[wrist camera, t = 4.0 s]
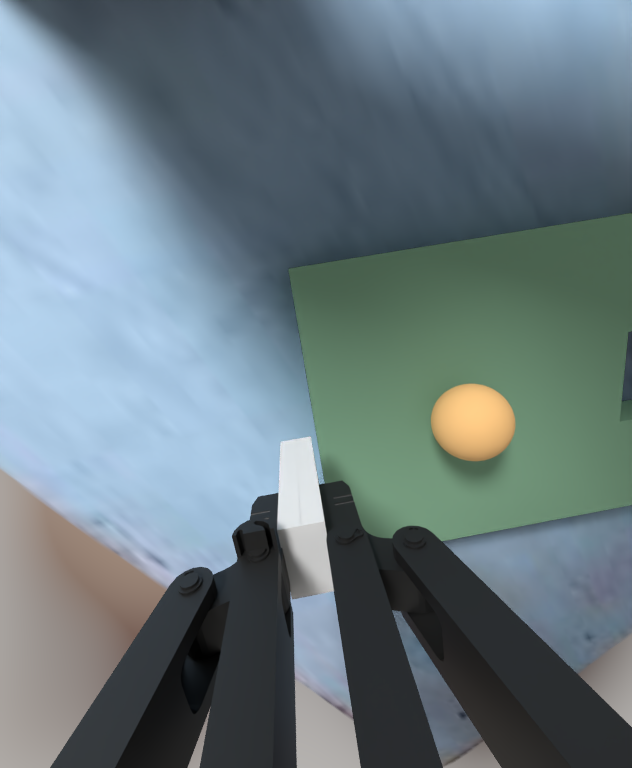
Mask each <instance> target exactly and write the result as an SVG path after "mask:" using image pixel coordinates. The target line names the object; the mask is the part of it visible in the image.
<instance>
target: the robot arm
mask: <svg viewBox="0 0 632 768" xmlns="http://www.w3.org/2000/svg"><path fill="white" fill-rule="evenodd" d="M232 538H233V542H234V546H235V550H236V554H237V557H238V559H237V562H236V563H235V564H233V565H232V566H231V567H229V568H227V569H225V570H223V571H221V572H218V573H216V574H214V575H213V574H212V571H210V570H209V569H208V568H204V567H197V568H192V569H190V570H188V571H185V572H184V573H182V574H181V575H179V576H178V577H177V578H176V579H175V580H174V581H173V582H172V583H171V584H170V586H169V588H168V589H167V591H166V592H165V594H164V595H163V597H162V598H161V600H160V601H159V603H158V604H157V606H156V607H155V609H154V610H153V612H152V613H151V615H150V617H149V618H148V620H147V621H146V623H145V624H144V626H143V627H142V629H141V630H140V632H139V633H138V635H137V636H136V638H135V639H134V641H133V642H132V644H131V646H130V647H129V648H128V650H127V652H126V653H125V655H124V656H123V658H122V659H121V661H120V662H119V664H118V665H117V667H116V668H115V670H114V671H113V673H112V674H111V676H110V678H109V679H108V680H107V682H106V684H105V685H104V687H103V688H102V690H101V691H100V693H99V694H98V696H97V697H96V699H95V700H94V702H93V703H92V705H91V707H90V708H89V709H88V711H87V712H86V714H85V716H84V717H83V719H82V720H81V722H80V723H79V725H78V726H77V728H76V729H75V731H74V733H73V734H72V736H71V737H70V738H69V740H68V741H67V743H66V744H65V746H64V748H63V749H62V751H61V752H60V754H59V755H58V757H57V758H56V760H55V761H54V763H53V764H52V766H51V767H50V768H187V767H188V764H189V762H190V759H191V756H192V754H193V751H194V749H195V746H196V743H197V741H198V738H199V735H200V733H201V730H202V727H203V725H204V722H205V719H206V717H207V714H208V712H209V709H210V713H209V719H208V724H207V730H206V735H205V741H204V747H203V752H202V758H201V763H200V768H297V765H296V762H297V761H296V717H295V672H294V628H293V611H292V606H291V602H290V591H291V596H292V599H297V598H302V597H307V596H312V595H317V594H322V593H327V592H332V591H334V595H335V601H336V608H337V614H338V621H339V627H340V634H341V640H342V647H343V653H344V660H345V666H346V673H347V680H348V686H349V693H350V699H351V706H352V712H353V719H354V725H355V732H356V738H357V745H358V751H359V758H360V764H361V768H443V766H442V763H441V760H440V757H439V754H438V751H437V748H436V745H435V742H434V739H433V736H432V732H431V729H430V726H429V723H428V720H427V717H426V714H425V711H424V708H423V705H422V702H421V699H420V696H419V692H418V689H417V686H416V683H415V680H414V677H413V674H412V671H411V668H410V665H409V662H408V659H407V656H406V652H405V649H404V646H403V643H402V640H401V637H400V634H399V631H398V628H397V625H396V622H395V619H394V616H393V612H392V610H395V611H401V613H402V615H403V617H404V619H405V620H406V622H407V623H408V625H409V626H410V628H411V629H412V631H413V633H414V634H415V636H416V637H417V639H418V640H419V642H420V643H421V645H422V646H423V648H424V649H425V651H426V652H427V654H428V656H429V657H430V659H431V660H432V662H433V663H434V665H435V666H436V668H437V669H438V671H439V672H440V674H441V675H442V677H443V678H444V680H445V682H446V683H447V685H448V686H449V688H450V689H451V691H452V692H453V694H454V695H455V697H456V698H457V700H458V701H459V703H460V705H461V706H462V708H463V709H464V711H465V712H466V714H467V715H468V717H469V718H470V720H471V721H472V723H473V724H474V726H475V728H476V729H477V731H478V732H479V734H480V735H481V737H482V738H483V740H484V741H485V743H486V744H487V746H488V747H489V749H490V750H491V752H492V753H493V755H494V757H495V758H496V760H497V761H498V763H499V764H500V766H501V767H502V768H632V727H631V726H630V725H629V724H628V723H627V722H626V721H625V720H624V719H623V718H622V717H621V716H619V714H617V712H616V711H614V710H613V709H612V708H611V707H610V706H609V705H608V704H607V703H606V702H605V701H604V700H603V699H602V698H601V697H600V696H599V695H598V694H597V693H596V692H595V691H594V690H593V689H592V688H591V687H590V686H589V685H588V684H587V683H586V682H585V681H584V680H583V679H582V678H581V677H580V676H579V675H578V674H577V673H576V672H575V671H574V670H573V669H572V668H571V667H570V666H568V665H567V664H566V663H565V662H564V661H563V660H562V659H561V658H560V657H559V656H558V655H557V654H556V653H555V652H554V651H553V650H552V649H551V648H550V647H549V646H548V645H547V644H546V643H545V642H544V641H543V640H542V639H541V638H540V637H539V636H538V635H537V634H536V633H535V632H534V631H533V630H532V629H531V628H530V627H529V626H528V625H527V624H526V623H525V622H524V621H522V620H521V619H520V618H519V617H518V616H517V615H516V614H515V613H514V612H513V611H512V610H511V609H510V608H509V607H508V606H507V605H506V604H505V603H504V602H503V601H502V600H501V599H500V598H499V597H498V596H497V595H496V594H495V593H494V592H493V591H492V590H491V589H490V588H489V587H488V586H487V585H486V584H485V583H484V582H483V581H482V580H481V579H480V578H479V577H477V576H476V575H475V574H474V573H473V572H472V571H471V570H470V569H469V568H468V567H467V566H466V565H465V564H464V563H463V562H462V561H461V560H460V559H459V558H458V557H457V556H456V555H455V554H454V553H453V552H452V551H451V550H450V549H449V548H448V547H447V546H446V545H445V544H444V543H443V542H442V541H441V540H440V539H439V538H438V537H437V536H436V535H435V534H434V533H432V532H431V531H429V530H428V529H427V528H424V527H420V526H406V527H402V528H400V529H399V530H397V531H396V532H395V533H394V535H393V538H381V537H376V536H373V535H371V534H369V533H367V532H366V531H365V530H364V528H363V527H362V524H361V521H360V518H359V515H358V512H357V509H356V506H355V502H354V499H353V496H352V493H351V490H350V487H349V486H348V485H347V484H346V483H345V482H344V481H336V482H331V483H325V484H320V485H319V481H318V475H317V469H316V464H315V458H314V452H313V447H312V441H311V436H310V437H304V438H299V439H293V440H288V441H282V442H281V445H280V470H279V493H276V494H271V495H265V496H260V497H258V498H257V499H256V501H255V502H254V504H253V505H252V510H251V516H250V520H249V521H246V522H245V523H243V524H241V525H240V526H239V527H238V528H237V529H236V530H235V531H234V533H233V535H232ZM210 706H211V708H210Z"/></svg>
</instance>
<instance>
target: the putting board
mask: <svg viewBox="0 0 632 768" xmlns="http://www.w3.org/2000/svg"><path fill="white" fill-rule="evenodd" d="M288 271H289V277H290V283H291V288H292V294H293V300H294V306H295V312H296V318H297V324H298V329H299V335H300V341H301V347H302V353H303V359H304V365H305V371H306V376H307V382H308V388H309V394H310V400H311V406H312V412H313V418H314V423H315V429H316V435H317V441H318V447H319V453H320V459H321V464H322V470H323V476H324V482H325V483H331V482H336V481H344V482H345V483H346V484H347V485H348V486H349V487H350V490H351V493H352V496H353V499H354V502H355V506H356V509H357V512H358V515H359V518H360V521H361V524H362V527H363V528H364V530H365V531H366V532H367V533H369V534H371V535H373V536H376V537H381V538H393V535H394V533H395V532H396V531H397V530H399V529H400V528H402V527H406V526H420V527H424V528H427V529H428V530H429V531H431V532H432V533H434V534H435V535H436V536H437V537H438V538H439V539H440V540H441V541H446V540H451V539H457V538H462V537H467V536H472V535H478V534H483V533H488V532H493V531H499V530H504V529H509V528H514V527H520V526H525V525H530V524H535V523H541V522H546V521H551V520H556V519H562V518H567V517H572V516H577V515H583V514H588V513H593V512H598V511H604V510H609V509H614V508H619V507H625V506H630V505H632V400H627V401H622V393H623V382H624V372H625V362H626V351H627V341H628V332H632V213H628V214H622V215H616V216H610V217H604V218H597V219H591V220H585V221H579V222H573V223H567V224H560V225H554V226H548V227H542V228H536V229H529V230H523V231H517V232H511V233H505V234H499V235H492V236H486V237H480V238H474V239H468V240H462V241H455V242H449V243H443V244H437V245H431V246H424V247H418V248H412V249H406V250H400V251H394V252H387V253H381V254H375V255H369V256H363V257H356V258H350V259H344V260H338V261H332V262H326V263H319V264H313V265H307V266H301V267H295V268H289V270H288ZM462 384H480V385H484V386H487V387H490V388H492V389H494V390H495V391H497V392H498V393H500V394H501V395H502V396H503V397H504V398H505V399H506V400H507V401H508V403H509V404H510V406H511V408H512V410H513V413H514V416H515V432H514V436H513V438H512V440H511V442H510V444H509V445H508V446H507V448H506V449H505V450H504V451H503V452H501V453H500V454H499V455H497V456H495V457H493V458H491V459H488V460H483V461H466V460H462V459H459V458H457V457H454V456H453V455H451V454H449V453H448V452H447V451H445V450H444V449H443V448H442V447H441V446H440V445H439V443H438V442H437V440H436V439H435V437H434V434H433V432H432V428H431V414H432V410H433V407H434V405H435V403H436V401H437V400H438V399H439V397H440V396H441V395H442V394H444V393H445V392H446V391H448V390H449V389H451V388H453V387H455V386H458V385H462Z"/></svg>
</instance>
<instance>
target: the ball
mask: <svg viewBox="0 0 632 768" xmlns="http://www.w3.org/2000/svg"><path fill="white" fill-rule="evenodd" d="M431 428H432V432H433V434H434V437H435V439H436V440H437V442H438V443H439V445H440V446H441V447H442V448H443V449H444V450H445V451H447V452H448V453H449V454H451V455H453V456H454V457H457V458H459V459H462V460H466V461H483V460H488V459H491V458H493V457H495V456H497V455H499V454H500V453H501V452H503V451H504V450H505V449H506V448H507V446H508V445H509V444H510V442H511V440H512V438H513V436H514V432H515V416H514V413H513V410H512V408H511V406H510V404H509V403H508V401H507V400H506V399H505V398H504V397H503V396H502V395H501V394H500V393H498V392H497V391H495V390H494V389H492V388H490V387H487V386H484V385H480V384H462V385H458V386H455V387H453V388H451V389H449V390H448V391H446V392H445V393H444V394H442V395H441V396H440V397H439V399H438V400H437V401H436V403H435V405H434V407H433V410H432V414H431Z"/></svg>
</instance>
